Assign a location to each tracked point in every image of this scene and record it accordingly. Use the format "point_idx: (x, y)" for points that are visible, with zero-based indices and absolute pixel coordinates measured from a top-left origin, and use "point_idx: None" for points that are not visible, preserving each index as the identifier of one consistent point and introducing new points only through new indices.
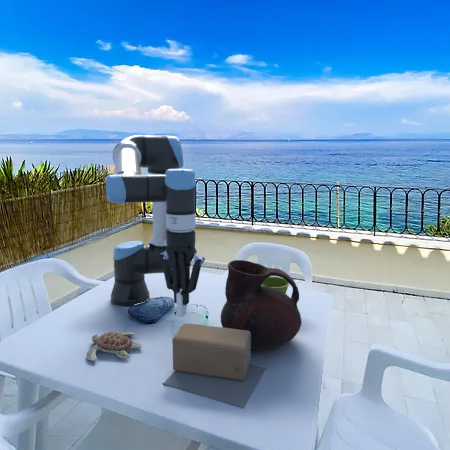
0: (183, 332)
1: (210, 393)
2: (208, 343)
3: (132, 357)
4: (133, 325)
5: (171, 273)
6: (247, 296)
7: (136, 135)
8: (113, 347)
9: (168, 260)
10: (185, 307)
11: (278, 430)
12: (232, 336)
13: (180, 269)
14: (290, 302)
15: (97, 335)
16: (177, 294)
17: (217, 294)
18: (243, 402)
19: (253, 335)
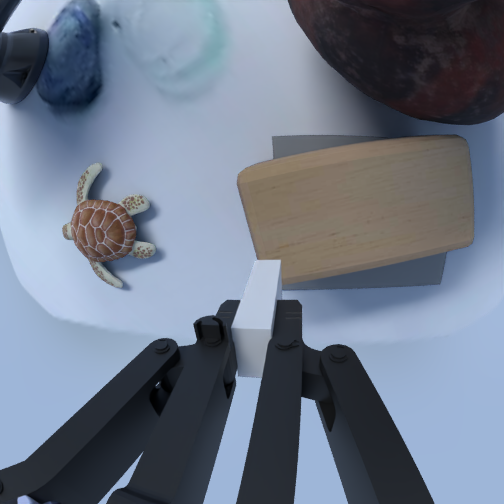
0: (280, 247)
1: (382, 277)
2: (383, 265)
3: (159, 236)
4: (75, 130)
5: (126, 426)
6: (456, 13)
7: None
8: (118, 255)
9: (59, 495)
10: (279, 285)
11: (479, 298)
12: (439, 203)
13: (185, 480)
14: None
15: (67, 234)
16: (246, 373)
17: None
18: (439, 272)
19: (458, 124)
